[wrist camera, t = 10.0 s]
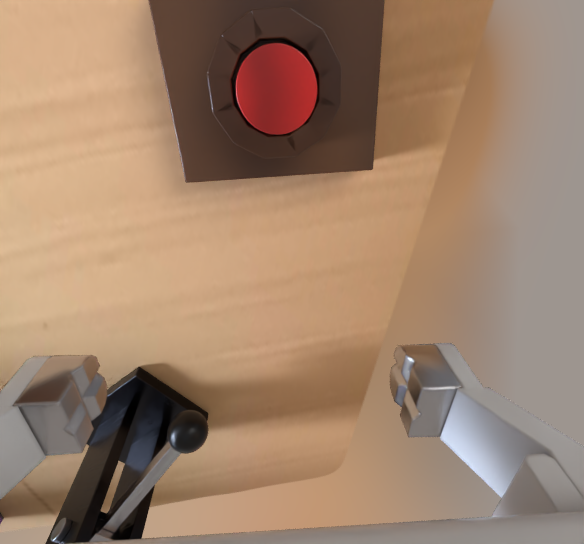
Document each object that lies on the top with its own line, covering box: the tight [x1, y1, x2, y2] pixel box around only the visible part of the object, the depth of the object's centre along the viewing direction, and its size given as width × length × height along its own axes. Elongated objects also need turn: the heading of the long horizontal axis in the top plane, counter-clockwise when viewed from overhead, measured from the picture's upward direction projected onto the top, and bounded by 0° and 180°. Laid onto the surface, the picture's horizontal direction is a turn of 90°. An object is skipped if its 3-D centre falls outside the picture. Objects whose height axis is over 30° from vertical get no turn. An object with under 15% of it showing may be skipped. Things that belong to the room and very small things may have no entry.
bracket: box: [46, 367, 208, 544], centre depth 30 cm, size 11×9×13 cm
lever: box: [89, 410, 208, 542], centre depth 27 cm, size 13×3×3 cm, turn 127°
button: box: [236, 43, 317, 135], centre depth 18 cm, size 4×4×2 cm
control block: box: [149, 0, 384, 183], centre depth 20 cm, size 12×10×4 cm
